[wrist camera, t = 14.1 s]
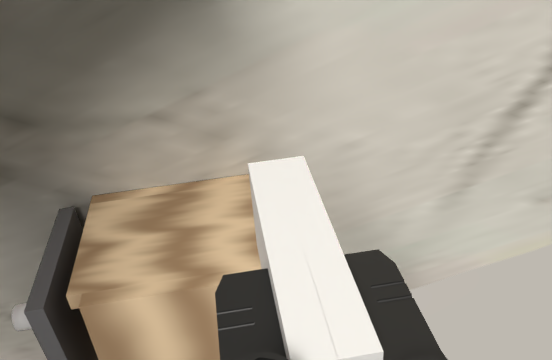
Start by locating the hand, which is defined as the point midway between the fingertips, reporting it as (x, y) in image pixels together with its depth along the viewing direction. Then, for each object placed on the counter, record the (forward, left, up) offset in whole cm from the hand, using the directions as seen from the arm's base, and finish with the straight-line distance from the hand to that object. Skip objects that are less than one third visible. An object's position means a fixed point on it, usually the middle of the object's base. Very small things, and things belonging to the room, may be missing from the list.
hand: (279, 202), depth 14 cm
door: (-15, -24, -26) cm, 38 cm away
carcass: (-6, -23, -26) cm, 35 cm away
